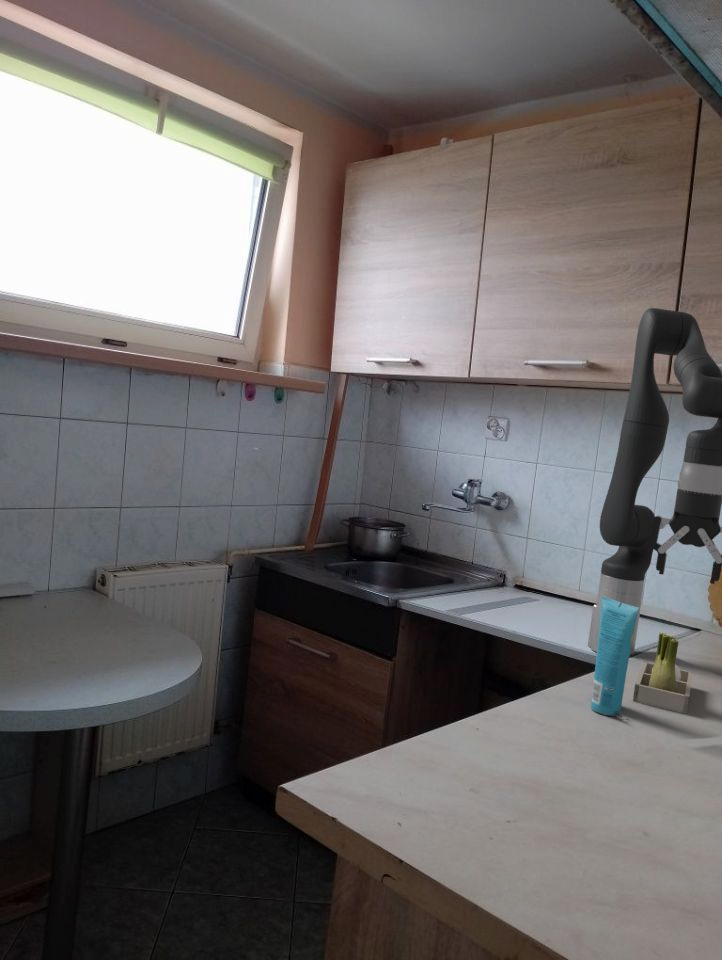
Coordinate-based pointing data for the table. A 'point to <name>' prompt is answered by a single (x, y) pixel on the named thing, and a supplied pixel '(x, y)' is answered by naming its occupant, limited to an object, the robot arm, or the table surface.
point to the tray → (662, 691)
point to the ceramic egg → (676, 673)
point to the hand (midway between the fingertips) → (686, 578)
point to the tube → (612, 655)
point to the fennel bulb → (665, 664)
